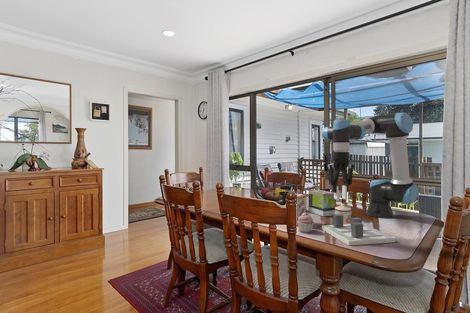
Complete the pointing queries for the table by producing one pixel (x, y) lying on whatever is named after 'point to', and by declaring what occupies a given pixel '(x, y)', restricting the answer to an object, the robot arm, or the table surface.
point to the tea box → (321, 202)
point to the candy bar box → (301, 204)
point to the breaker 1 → (337, 220)
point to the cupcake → (305, 223)
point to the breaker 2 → (357, 229)
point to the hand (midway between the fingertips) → (340, 198)
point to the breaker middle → (355, 220)
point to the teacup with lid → (344, 213)
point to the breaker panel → (368, 237)
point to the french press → (284, 187)
